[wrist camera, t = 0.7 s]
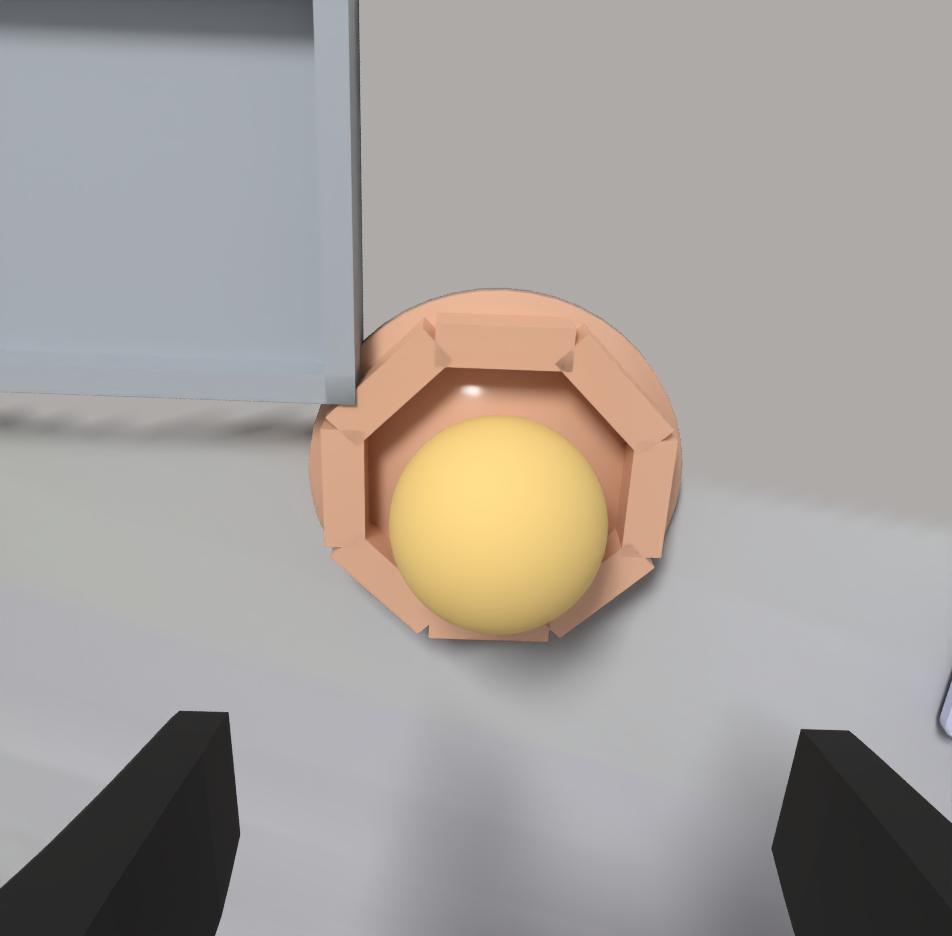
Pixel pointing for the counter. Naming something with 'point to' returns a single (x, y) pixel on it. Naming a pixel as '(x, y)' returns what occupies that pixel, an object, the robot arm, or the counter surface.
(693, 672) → the counter surface
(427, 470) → the ball
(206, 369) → the tray
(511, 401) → the dish
